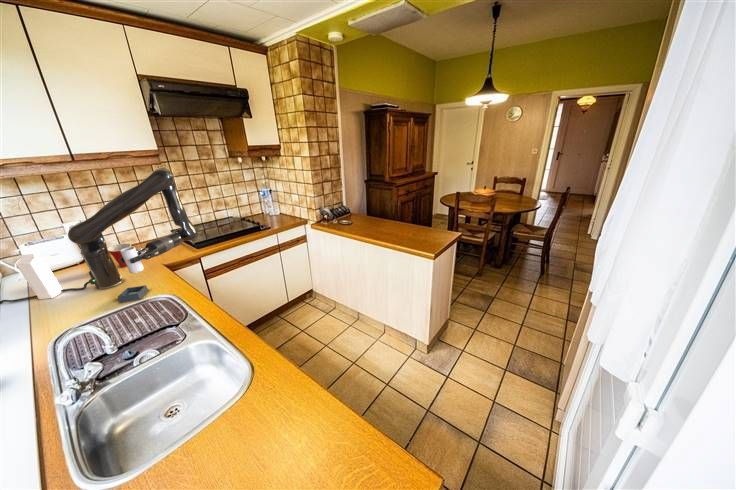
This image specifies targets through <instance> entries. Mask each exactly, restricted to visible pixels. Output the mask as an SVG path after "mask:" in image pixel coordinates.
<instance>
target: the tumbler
mask: <svg viewBox="0 0 736 490" xmlns="http://www.w3.org/2000/svg"><path fill="white" fill-rule="evenodd" d="M136 249H137V248H136V247H135V246H131V247H128V248H124V249H122V250H120V252H121V255H122V257H123V259H124V261H125V263H126V265H127V266H126V267H127V270H128V271H129V273H130V274H137V273H141V272H142V271H144V270H145V267H144V264H143V262H142V260H140V261H138V262H136V263H131V262H130V259H131V258H134V257H136V256H139V255H138V253H137V251H136Z"/></svg>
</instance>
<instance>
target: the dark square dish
mask: <svg viewBox="0 0 736 490" xmlns="http://www.w3.org/2000/svg"><path fill="white" fill-rule="evenodd" d="M148 292H149V288H148V286H147V285H146V284H145V285H138V286H132V287H127V288H125V290H123V291H122V292H121V293H120V294H119V295H118V296H117V299H118V301H119V303H126V302H128V303H129V302H132V301H133V302H134V301H139V300H141V299H142V298H143V297H144V296H145V295H147V293H148Z"/></svg>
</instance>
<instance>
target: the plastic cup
mask: <svg viewBox="0 0 736 490" xmlns="http://www.w3.org/2000/svg"><path fill="white" fill-rule="evenodd" d="M128 247H132V244H131V243H129V242H127V243H126V242H125V243H118V244H114V245H111V246H109V247H107V249H108V251H109V253H110V255H111V257H112V258H113V259H114V260H115V261H116V263H118V265H119V266H120V268H124V267H125V268H126V267H127V265H126V263H125V262H124V263H121V261H120V258H122V255H121V252H120V250H122V249H124V248H128Z"/></svg>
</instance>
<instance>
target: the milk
mask: <svg viewBox="0 0 736 490" xmlns="http://www.w3.org/2000/svg"><path fill="white" fill-rule="evenodd" d="M19 257H20V259H19V260H18V261H17V263H16V267H17V268H18V270H19V271H20V273H21V274H22V276H23V277H24V279H25V280H26V282H27V284H28V285H29V287H30V288H31V289H32V292H34V294H35V295H37V297H36V298H38V300H45V299H46V300H47V299H53V298H55V297H57V296H58V295H60V294H62V293H63V292H61V290H63V287H62V286H61V284H60V282H59V281H58V278H57V277H56V276H55V274H54V273H53V272H54V271H52V269H51V267H50V266H49V264H48V262H47V261H46V260H45V257H41V256H40V257H39V256H35V254H33V253H31V254H21V255H19Z"/></svg>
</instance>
